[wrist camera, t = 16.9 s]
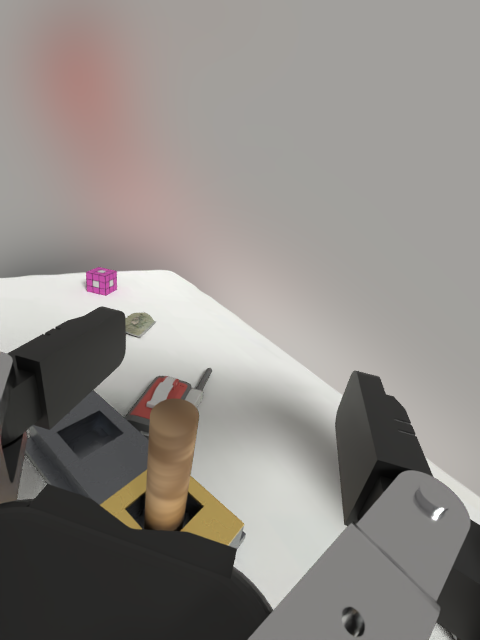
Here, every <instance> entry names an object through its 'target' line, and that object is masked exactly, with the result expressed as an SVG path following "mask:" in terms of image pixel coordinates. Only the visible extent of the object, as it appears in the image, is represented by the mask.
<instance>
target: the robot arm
mask: <svg viewBox="0 0 480 640" xmlns="http://www.w3.org/2000/svg"><path fill="white" fill-rule="evenodd" d="M125 350H126V322H125V314H124V313H123V312H122V311H118V310H114V309H110V308H106V307H99V308H97V309H95V310H93V311H92V312H90V313H88V314H86V315H85V316H82V317H79V318H75V319H71V320H68V321H66V322H64V323H62V324H61V325H59V326H57V327H56V328H55V329H51V330H50V331H48V332H46V333H45V335H44V334H42V335H40V336H39V337H37V338H35V339H33V340H31V341H29V342H28V343H26V344H24V345H22V346H20V347H19V348H17V349H15V350H13V351H11V352H9V353H8V354H6V353H3V352H0V640H429V638H430V635H431V633H432V631H433V629H434V626H435V624H436V622H437V623H438V624H439V625H441V626H442V627H444V628H445V629H447V630H448V631H449V632H451V633H452V635H453V637H454V639H455V640H480V525H479V524H477V523H475V522H474V521H472V520H471V519H470V517H469V514H468V511H467V509H466V508H465V506H464V504H463V503H462V501H461V500H460V499H459V497H458V496H457V495H456V494H455V493H454V492H453V491H452V490H451V489H450V488H449V487H447V486H446V485H445V484H443V483H442V482H441V481H439V480H438V479H436V478H434V477H433V475H432V473H431V470H430V468H429V466H428V463H427V461H426V458H425V456H424V454H423V451H422V449H421V446H420V444H419V442H418V439H417V437H416V436H415V432H414V429H413V427H412V425H410V423H411V422H410V420H409V417H408V415H407V412H406V410H405V409H404V407H403V406H402V405H401V404H400V403H399V402H398V401H397V400H396V399H395V398H394V397H393V396H389V395H386V394H385V391H384V388H383V385H382V382H381V379H380V377H378V376H374V375H370V374H366V373H363V372H359V371H353V373H352V374H351V376H350V379H349V381H348V384H347V387H346V389H345V392H344V394H343V397H342V400H341V402H340V405H339V407H338V411H337V415H336V422H335V428H336V439H337V450H338V461H339V471H340V482H341V493H342V504H343V514H344V525H347V526H348V527H347V528H346V529H345V530H344V531H343V532H342V533H341V534H340V535H339V537H338V538H337V539H336V540H335V541H334V542H333V543H332V545H331V546H330V547H329V548H328V549H327V550H326V551H325V552H324V554H323V555H322V556H321V557H320V558H319V559H318V560H317V562H316V563H315V564H314V565H313V566H312V567H311V568H310V569H309V571H308V572H307V573H306V574H305V575H304V576H303V577H302V579H301V580H300V581H299V582H298V583H297V584H296V585H295V586H294V588H293V589H292V590H291V591H290V592H289V593H288V594H287V596H286V597H285V598H284V599H283V600H282V601H281V602H280V603H279V605H278V606H277V607H276V608H275V609H274V610H273V609H272V607H271V606H270V604H269V603H268V601H267V600H266V598H265V597H264V595H263V594H262V593H261V592H260V591H259V589H258V588H257V587H256V586H255V585H254V583H252V582H251V581H250V580H249V579H248V578H247V577H246V576H245V575H244V574H243V573H242V572H240V571H239V570H238V569H236V568H235V567H233V565H234V560H235V555H236V551H237V548H234V547H231V546H228V545H225V544H222V543H219V542H216V541H213V540H210V539H207V538H204V537H202V536H199V535H196V534H193V533H190V532H184V531H164V530H144V529H133V528H130V527H128V526H126V525H125V524H124V523H123V522H121V521H120V520H119V519H117V518H116V517H115V516H113V515H112V514H111V513H109V512H108V511H107V510H105V509H104V508H103V507H102V506H100V505H99V504H98V503H96V502H95V501H94V500H92V499H91V498H88V497H85V496H82V495H79V494H76V493H73V492H70V491H67V490H64V489H62V488H59V487H56V486H53V485H50V484H47V485H46V487H45V488H44V489H43V490H42V491H41V492H40V493H39V494H38V496H37V497H36V498H35V499H26V500H17V494H18V487H19V482H20V477H21V471H22V466H23V460H24V455H25V449H26V444H27V432H26V430H27V429H29V428H30V427H31V426H32V425H35V426H39V427H42V428H45V429H48V430H50V429H51V428H53V427H54V426H55V425H56V424H57V423H58V422H59V421H60V420H61V419H62V418H63V417H64V416H66V415H67V414H68V413H69V412H70V411H71V410H72V409H73V408H74V407H75V406H76V405H77V404H79V403H80V402H81V401H82V400H83V399H84V398H85V397H86V396H87V395H88V394H89V393H90V392H91V391H93V390H94V389H95V388H96V387H97V386H98V385H99V384H100V383H101V382H102V381H103V380H104V379H106V378H107V377H108V376H109V375H110V374H111V373H112V372H113V371H114V370H115V369H116V368H117V367H118V366H119V365H120V364H121V362H122V361H123V358H124V356H125Z"/></svg>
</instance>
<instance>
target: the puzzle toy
mask: <svg viewBox="0 0 480 640" xmlns="http://www.w3.org/2000/svg"><path fill="white" fill-rule="evenodd" d="M86 280H87V291H88V292H92V293H96V294H101V295H105V296H106V295H108V294H110V293H111V292H113V291H115V290H117V271H114V270H109V269H105V268H100V267H98V268H95V269H93V270H90V271H88V272H86Z"/></svg>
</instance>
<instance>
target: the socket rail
mask: <svg viewBox="0 0 480 640" xmlns="http://www.w3.org/2000/svg"><path fill="white" fill-rule="evenodd" d="M29 431H30V438H28V439H27V444H26V449H25V454H26V455H27V457H28V458H29V459H30V461H31V462H32V463H33V465H34V466H35V468H36V469H37V470H38V472H39V473H40V474H41V476H42V477H43V478H44V480H45V481H46V483H47V484H50V485H53V486H56V487H59V488H62V489H64V490H67V491H70V492H73V493H76V494H79V495H82V496H85V497H88V498H91V499H92V500H94V501H95V502H96V503H98V504H99V505H100V506H102V507H103V508H104V509H105V510H107V511H108V512H109V513H111V514H112V515H113V516H115V517H116V518H117V519H119V520H120V521H121V522H123V523H124V524H125V525H126V526H128V527H130V528H133V529H144V517H145V499H146V480H147V461H148V443H149V440H148V439H147V438H146V437H145V436H144V435H143V434H141V433H140V432H139V431H138V430H137V429H136V428H135V427H134V426H133V425H131V424H130V423H129V422H128V421H127V420H126V419H125V418H124V417H123V416H121V415H120V414H119V413H118V412H117V411H116V410H115V409H114V408H113V407H111V406H110V405H109V404H108V403H107V402H106V401H105V400H104V399H102V398H101V397H100V396H99V395H98V394H97V393H96V392H95V391H94V390H93V391H91V392H90V393H89V394H88V395H87V396H86V397H85V398H84V399H83V400H82V401H81V402H80V403H79V404H77V405H76V406H75V407H74V408H73V409H72V410H71V411H70V412H69V413H68V414H67V415H66V416H64V417H63V418H62V419H61V420H60V421H59V422H58V423H57V424H56V425H55V426H54V427H53V428H51V429H50V430H48V429H45V428H42V427H39V426H35V425H32V426H31V427H30V428H29ZM243 527H244V523H243V522H242V521H241V520H240V519H238V518H237V517H236V516H235V515H234V514H233V513H232V512H231V511H229V510H228V509H227V508H226V507H225V506H224V505H223V504H222V503H221V502H219V501H218V500H217V499H216V498H215V497H214V496H213V495H212V494H210V493H209V492H208V491H207V490H206V489H205V488H204V487H203V486H202V485H200V484H199V483H198V482H197V481H196V480H195V479H194V478H193V477H191V476H190V481H189V488H188V495H187V501H186V508H185V515H184V522H183V528H182V530H181V531H184V532H190V533H193V534H196V535H199V536H202V537H204V538H207V539H210V540H213V541H216V542H219V543H222V544H225V545H228V546H231V547H234V548H238V547H239V546H240V544H241V543H242V542H243V540H244V538H245V535H246V534H245V533H244V532H243Z"/></svg>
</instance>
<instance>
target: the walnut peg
mask: <svg viewBox="0 0 480 640" xmlns="http://www.w3.org/2000/svg"><path fill="white" fill-rule="evenodd" d="M198 421H199V412H198V410H197V408H196V407H195V406H194V405H193V404H192V403H190V402H188V401H186V400H183V399H167V400H164V401H161V402H159V403H158V404H156V405H155V406H154V407H153V409H152V410H151V413H150V424H149V443H148V461H147V480H146V499H145V517H144V530H164V531H181V530H182V528H183V522H184V515H185V508H186V501H187V495H188V488H189V481H190V475H191V468H192V461H193V454H194V448H195V441H196V434H197V427H198Z"/></svg>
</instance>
